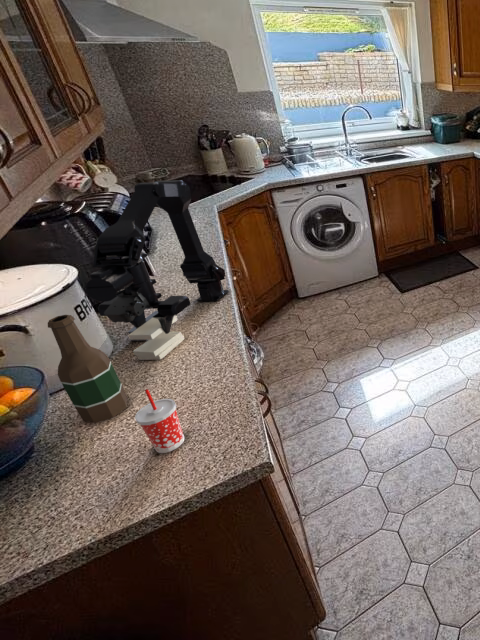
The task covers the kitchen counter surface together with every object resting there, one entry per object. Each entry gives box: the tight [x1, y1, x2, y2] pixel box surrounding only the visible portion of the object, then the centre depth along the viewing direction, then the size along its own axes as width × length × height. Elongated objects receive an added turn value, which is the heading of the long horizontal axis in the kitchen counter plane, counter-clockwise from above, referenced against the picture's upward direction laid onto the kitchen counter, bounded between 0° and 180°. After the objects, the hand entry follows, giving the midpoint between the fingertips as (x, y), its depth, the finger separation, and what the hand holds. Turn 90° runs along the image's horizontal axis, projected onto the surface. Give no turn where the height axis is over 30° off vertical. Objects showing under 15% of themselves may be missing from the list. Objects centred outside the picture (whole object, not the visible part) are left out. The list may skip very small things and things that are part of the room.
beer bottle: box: [47, 314, 129, 424], centre depth 85 cm, size 8×8×24 cm
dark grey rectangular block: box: [127, 310, 158, 342], centre depth 117 cm, size 11×4×3 cm, turn 2°
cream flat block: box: [132, 330, 185, 361], centre depth 109 cm, size 10×6×3 cm, turn 2°
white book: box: [127, 315, 178, 341], centre depth 107 cm, size 9×6×1 cm, turn 2°
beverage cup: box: [134, 388, 186, 454], centre depth 80 cm, size 6×6×14 cm
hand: (156, 333), depth 108 cm, fingers closed on white book, 5 cm apart
